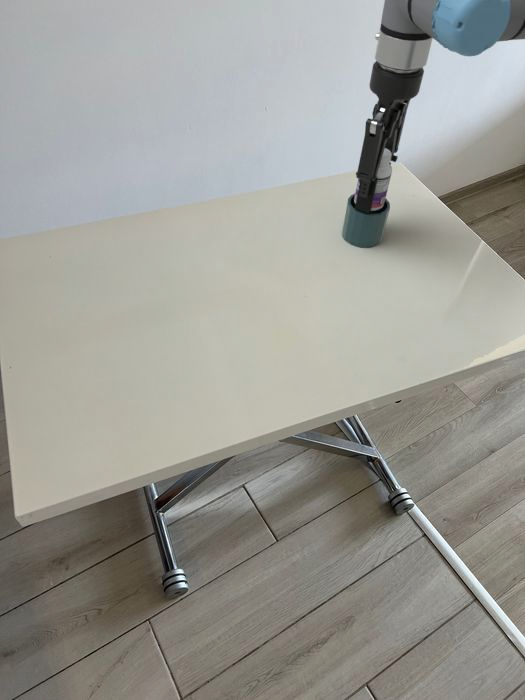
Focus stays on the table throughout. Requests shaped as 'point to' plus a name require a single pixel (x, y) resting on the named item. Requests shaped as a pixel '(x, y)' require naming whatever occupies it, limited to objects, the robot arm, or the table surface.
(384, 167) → the pill bottle
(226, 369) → the table surface
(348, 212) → the cup
